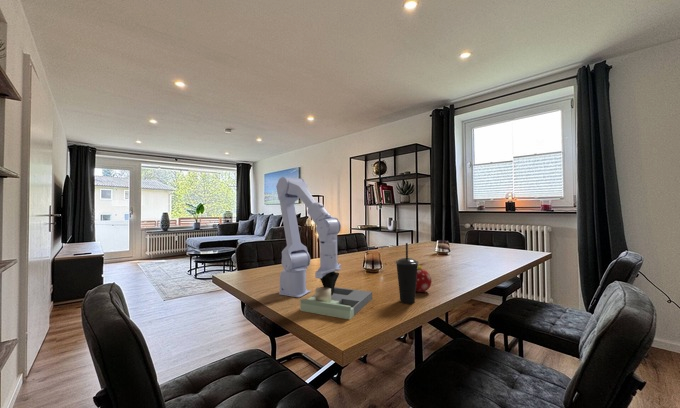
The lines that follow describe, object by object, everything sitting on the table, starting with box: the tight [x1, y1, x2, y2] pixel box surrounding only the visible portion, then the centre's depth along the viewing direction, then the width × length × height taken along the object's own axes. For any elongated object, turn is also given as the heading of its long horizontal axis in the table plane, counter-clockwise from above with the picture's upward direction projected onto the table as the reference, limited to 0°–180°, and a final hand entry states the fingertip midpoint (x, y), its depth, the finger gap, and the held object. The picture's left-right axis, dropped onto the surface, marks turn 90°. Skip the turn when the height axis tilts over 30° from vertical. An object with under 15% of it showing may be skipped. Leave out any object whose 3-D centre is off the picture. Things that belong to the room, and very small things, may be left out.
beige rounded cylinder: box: [314, 286, 331, 303], centre depth 89 cm, size 5×5×4 cm
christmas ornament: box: [416, 264, 432, 293], centre depth 107 cm, size 9×9×10 cm
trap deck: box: [299, 286, 373, 320], centre depth 94 cm, size 17×20×4 cm
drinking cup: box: [395, 242, 419, 305], centre depth 96 cm, size 8×8×20 cm
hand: (329, 295), depth 93 cm, fingers closed
